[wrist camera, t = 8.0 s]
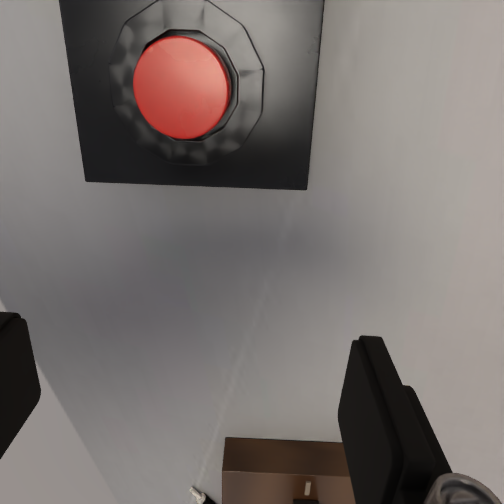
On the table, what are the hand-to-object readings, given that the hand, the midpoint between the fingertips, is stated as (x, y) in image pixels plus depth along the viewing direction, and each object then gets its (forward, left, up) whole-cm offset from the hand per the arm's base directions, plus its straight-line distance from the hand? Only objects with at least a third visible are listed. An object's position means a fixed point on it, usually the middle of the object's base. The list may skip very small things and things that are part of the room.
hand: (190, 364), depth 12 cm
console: (+6, -25, -14) cm, 30 cm away
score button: (-2, +7, -11) cm, 13 cm away
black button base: (-2, +7, -14) cm, 16 cm away
